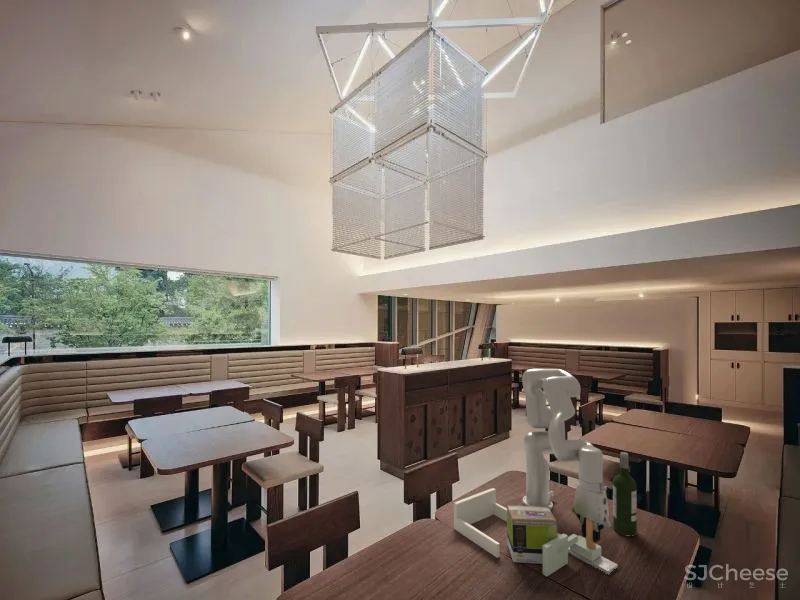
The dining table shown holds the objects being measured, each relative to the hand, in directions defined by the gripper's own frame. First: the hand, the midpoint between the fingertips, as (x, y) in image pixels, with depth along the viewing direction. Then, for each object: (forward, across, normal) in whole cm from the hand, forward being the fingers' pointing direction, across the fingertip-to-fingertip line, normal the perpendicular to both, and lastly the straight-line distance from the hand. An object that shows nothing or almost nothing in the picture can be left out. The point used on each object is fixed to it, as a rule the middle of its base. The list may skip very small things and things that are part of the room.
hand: (590, 538), depth 131 cm
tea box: (+7, +13, +15) cm, 21 cm away
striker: (+7, +2, +9) cm, 11 cm away
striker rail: (+7, +13, 0) cm, 15 cm away
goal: (+7, +29, +15) cm, 33 cm away
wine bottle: (+7, +2, -28) cm, 29 cm away
